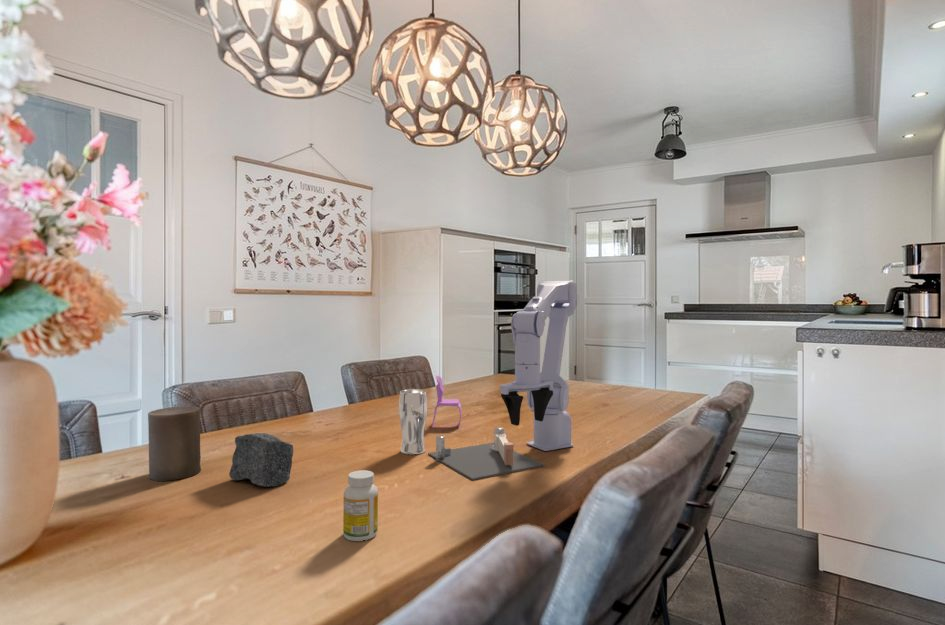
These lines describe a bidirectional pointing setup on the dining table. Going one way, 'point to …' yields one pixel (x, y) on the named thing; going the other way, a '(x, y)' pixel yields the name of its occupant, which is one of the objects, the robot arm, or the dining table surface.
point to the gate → (504, 448)
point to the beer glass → (412, 420)
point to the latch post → (441, 448)
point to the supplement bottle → (360, 507)
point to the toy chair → (444, 401)
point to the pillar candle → (174, 443)
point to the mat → (484, 462)
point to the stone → (261, 459)
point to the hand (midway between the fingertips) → (527, 422)
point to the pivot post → (497, 431)
